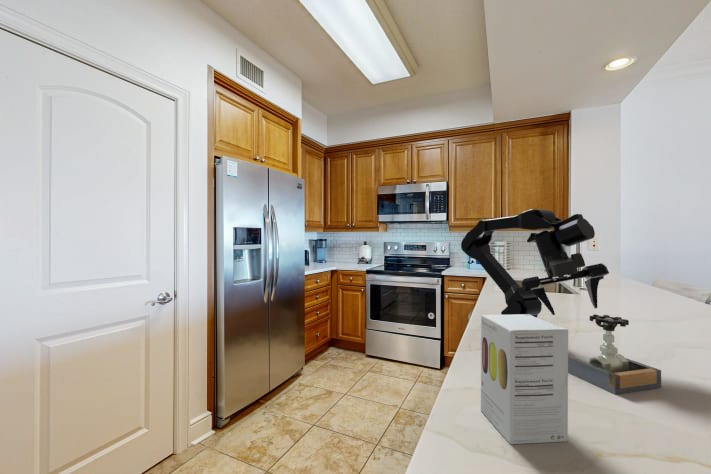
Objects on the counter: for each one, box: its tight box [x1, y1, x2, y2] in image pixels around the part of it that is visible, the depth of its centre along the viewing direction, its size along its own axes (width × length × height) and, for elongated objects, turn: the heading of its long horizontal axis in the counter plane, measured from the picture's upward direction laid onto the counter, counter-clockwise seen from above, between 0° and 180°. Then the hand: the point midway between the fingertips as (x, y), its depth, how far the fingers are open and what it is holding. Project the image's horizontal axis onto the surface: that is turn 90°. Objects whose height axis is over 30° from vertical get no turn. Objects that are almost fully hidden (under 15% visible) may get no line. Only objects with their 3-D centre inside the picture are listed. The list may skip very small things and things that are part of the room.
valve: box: [588, 314, 630, 373], centre depth 67 cm, size 7×7×12 cm
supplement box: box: [480, 314, 569, 445], centre depth 50 cm, size 10×9×17 cm
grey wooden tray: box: [568, 354, 662, 395], centre depth 67 cm, size 11×12×4 cm
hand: (574, 311), depth 78 cm, fingers open, 9 cm apart
